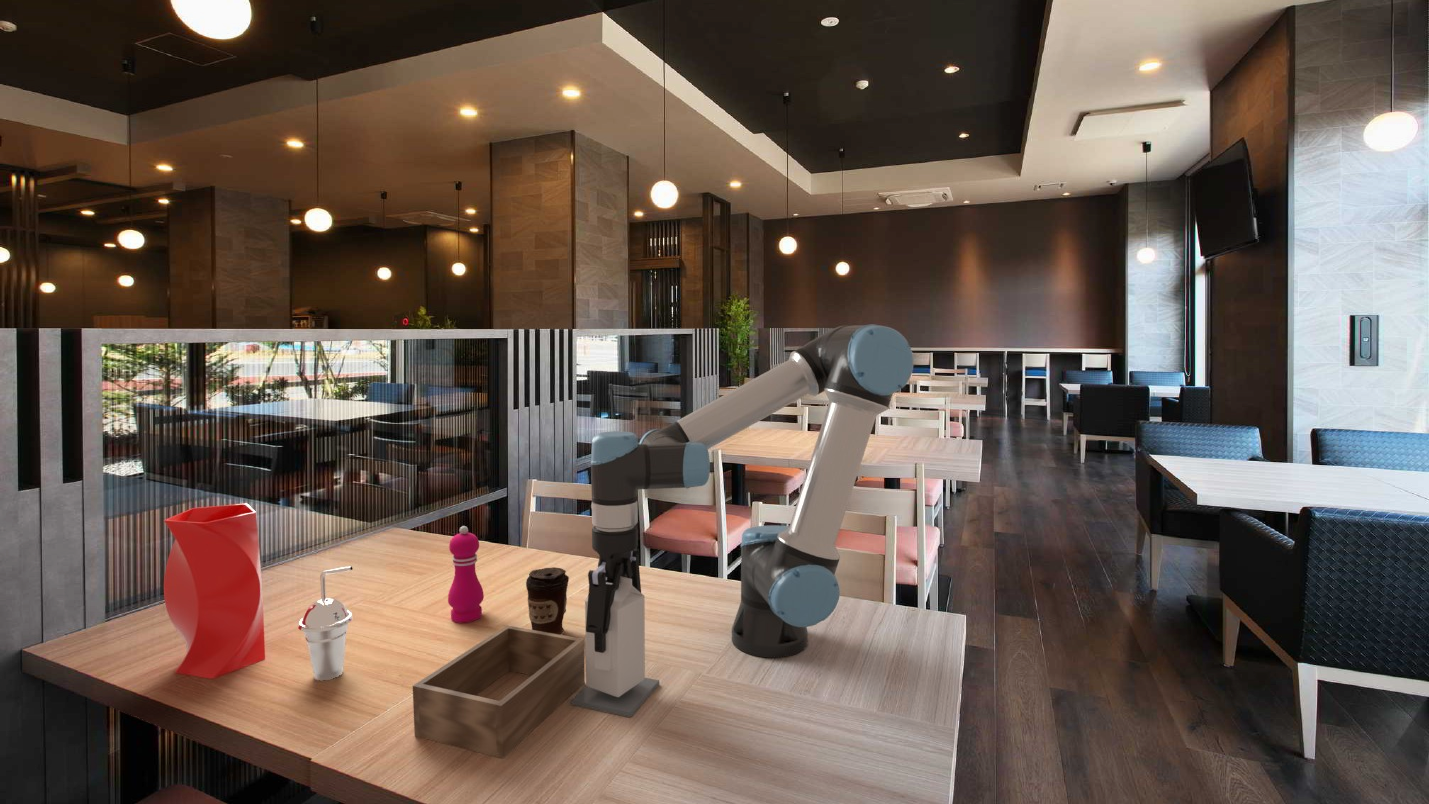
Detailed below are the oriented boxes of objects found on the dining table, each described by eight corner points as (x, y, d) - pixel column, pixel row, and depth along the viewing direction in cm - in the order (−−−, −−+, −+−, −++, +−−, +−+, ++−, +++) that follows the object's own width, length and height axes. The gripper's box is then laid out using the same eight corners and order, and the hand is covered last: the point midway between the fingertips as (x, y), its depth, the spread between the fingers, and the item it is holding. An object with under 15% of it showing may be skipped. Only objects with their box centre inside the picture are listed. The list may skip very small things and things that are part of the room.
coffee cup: (558, 645, 136) (556, 581, 135) (518, 641, 138) (517, 578, 136) (575, 626, 145) (574, 566, 143) (538, 623, 146) (537, 563, 145)
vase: (159, 668, 126) (147, 517, 123) (239, 635, 139) (229, 499, 136) (215, 684, 121) (203, 527, 118) (292, 649, 134) (283, 507, 131)
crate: (584, 682, 122) (583, 639, 121) (502, 758, 100) (501, 705, 100) (508, 667, 127) (506, 625, 126) (414, 735, 106) (412, 685, 105)
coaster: (659, 684, 121) (659, 680, 121) (630, 717, 111) (630, 712, 111) (603, 673, 125) (603, 669, 125) (570, 704, 115) (570, 699, 115)
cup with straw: (336, 659, 130) (330, 555, 128) (367, 670, 126) (362, 563, 124) (290, 679, 122) (283, 569, 120) (322, 692, 118) (316, 578, 116)
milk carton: (618, 698, 113) (617, 585, 111) (585, 686, 117) (584, 577, 115) (645, 680, 119) (644, 572, 117) (613, 669, 123) (612, 565, 121)
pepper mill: (441, 620, 147) (437, 528, 145) (465, 608, 154) (462, 520, 152) (468, 626, 145) (465, 532, 142) (491, 613, 151) (488, 523, 149)
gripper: (623, 508, 126) (624, 629, 128) (560, 540, 107) (563, 682, 109) (661, 512, 123) (661, 635, 126) (604, 546, 104) (605, 690, 106)
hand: (615, 656), depth 117 cm, fingers closed on milk carton, 8 cm apart
